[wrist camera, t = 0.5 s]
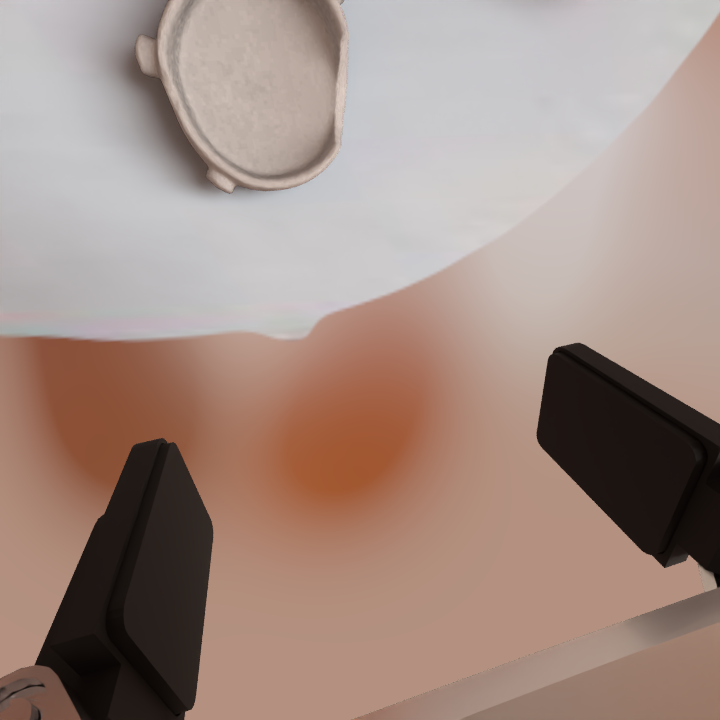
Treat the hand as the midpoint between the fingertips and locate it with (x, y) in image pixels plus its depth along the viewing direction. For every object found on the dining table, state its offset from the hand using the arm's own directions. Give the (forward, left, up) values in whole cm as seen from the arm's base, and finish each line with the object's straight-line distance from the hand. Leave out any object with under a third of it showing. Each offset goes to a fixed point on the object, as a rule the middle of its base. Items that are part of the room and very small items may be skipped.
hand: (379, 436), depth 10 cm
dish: (-11, -1, -30) cm, 32 cm away
